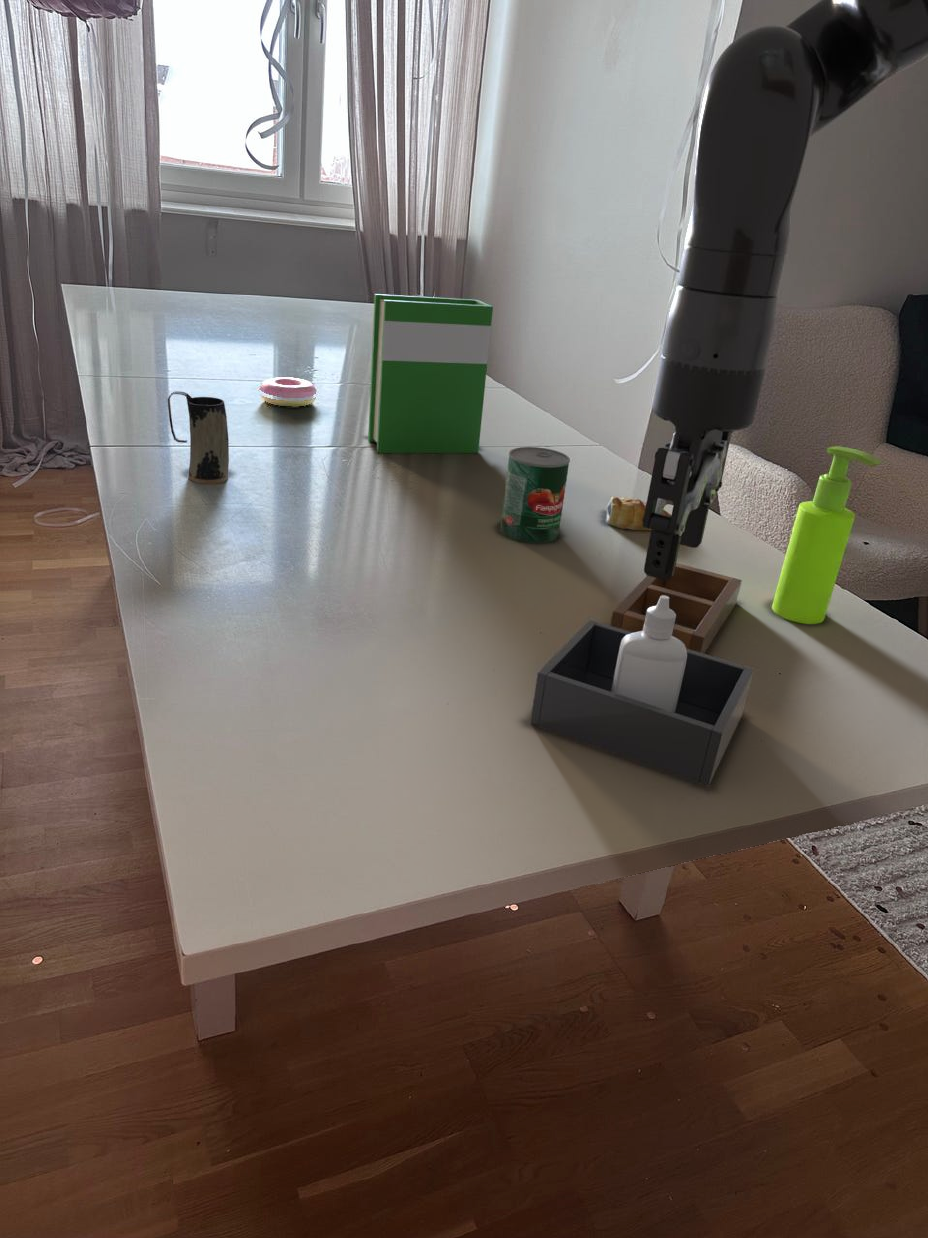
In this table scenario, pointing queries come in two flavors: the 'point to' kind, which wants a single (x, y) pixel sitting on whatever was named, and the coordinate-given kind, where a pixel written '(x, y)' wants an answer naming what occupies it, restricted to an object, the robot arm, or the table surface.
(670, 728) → the dark grey open box
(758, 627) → the table surface
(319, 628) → the table surface
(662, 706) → the eye dropper bottle
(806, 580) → the soap dispenser
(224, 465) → the mug
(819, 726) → the table surface
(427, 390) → the hardback book
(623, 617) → the tray
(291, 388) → the doughnut
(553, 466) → the canned tomato
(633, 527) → the pastry
